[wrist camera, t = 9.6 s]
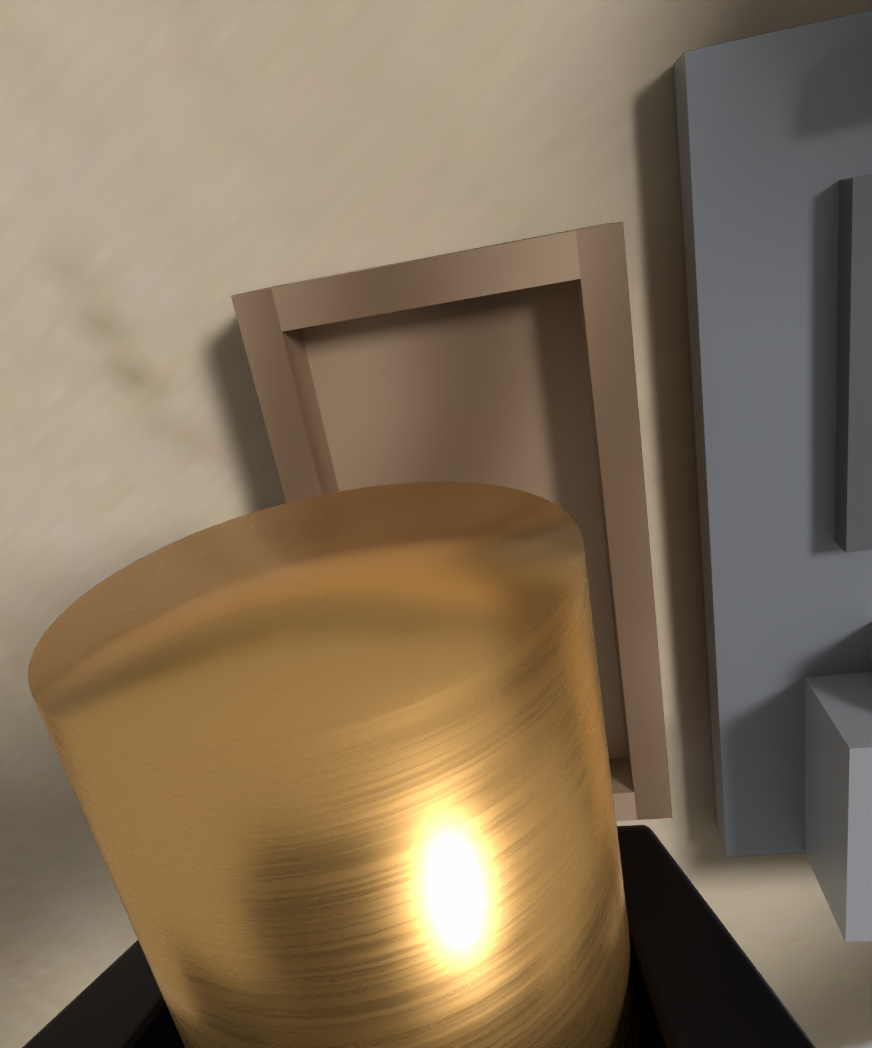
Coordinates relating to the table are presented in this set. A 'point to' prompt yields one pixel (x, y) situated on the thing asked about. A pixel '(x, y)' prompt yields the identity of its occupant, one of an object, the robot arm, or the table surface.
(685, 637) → the table surface
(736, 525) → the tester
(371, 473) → the trough
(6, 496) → the table surface
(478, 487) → the cell
